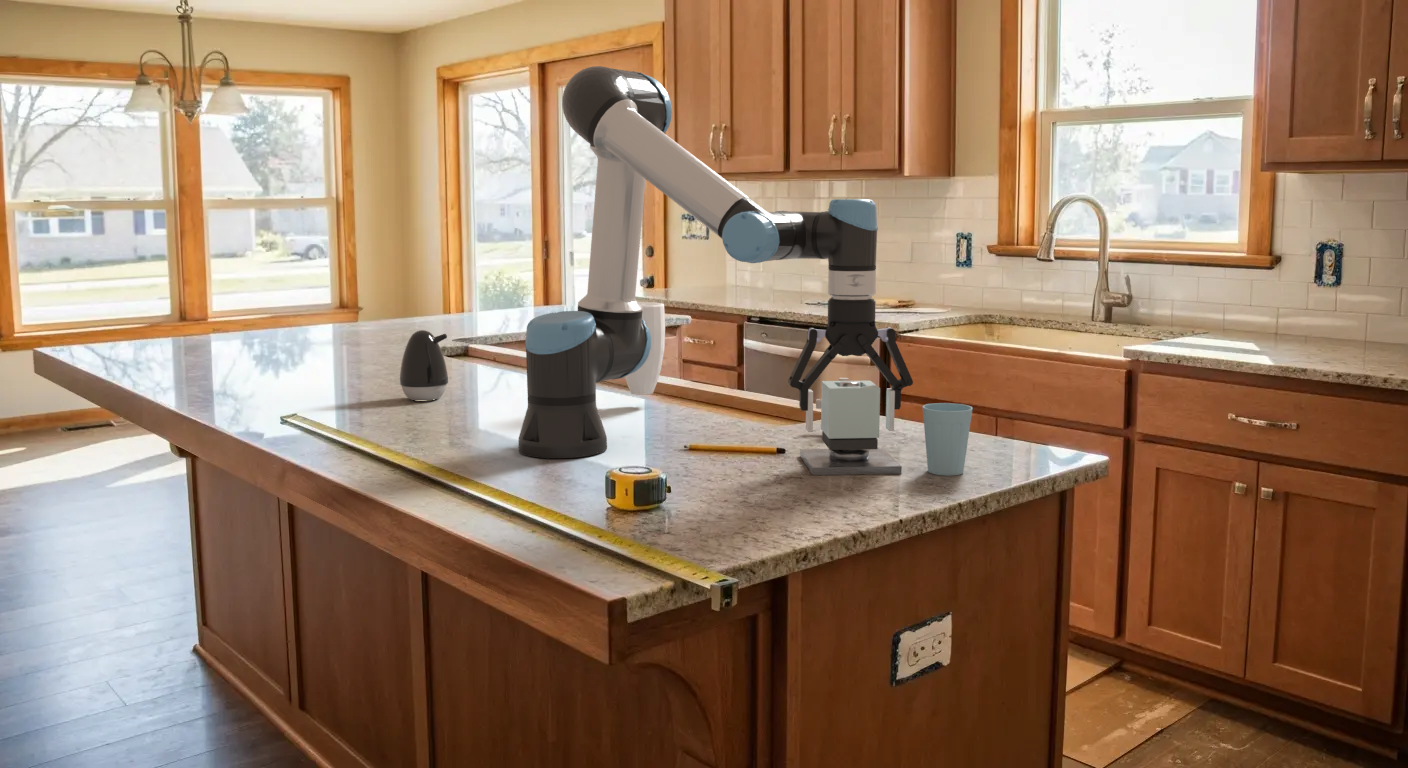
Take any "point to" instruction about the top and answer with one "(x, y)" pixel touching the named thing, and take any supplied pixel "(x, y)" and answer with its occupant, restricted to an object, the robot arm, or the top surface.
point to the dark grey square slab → (850, 443)
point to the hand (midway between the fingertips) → (849, 430)
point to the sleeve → (850, 410)
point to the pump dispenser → (423, 367)
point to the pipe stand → (849, 458)
